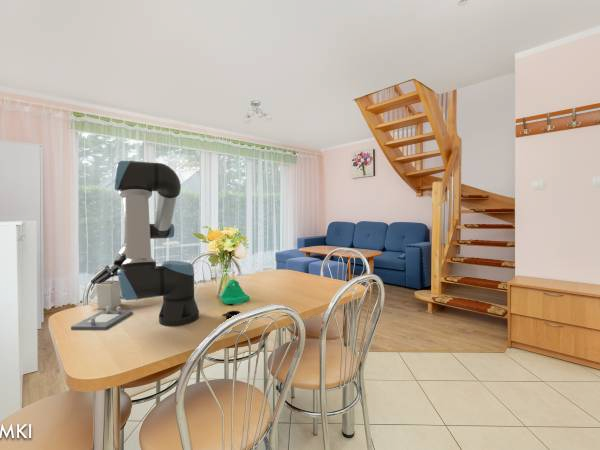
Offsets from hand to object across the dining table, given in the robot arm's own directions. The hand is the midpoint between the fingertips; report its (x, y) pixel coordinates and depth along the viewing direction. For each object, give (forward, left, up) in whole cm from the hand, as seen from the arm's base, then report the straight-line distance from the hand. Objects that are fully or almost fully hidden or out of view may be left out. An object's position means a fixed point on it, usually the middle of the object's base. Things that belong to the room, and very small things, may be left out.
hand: (105, 297), depth 134 cm
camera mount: (-55, -11, -5) cm, 57 cm away
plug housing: (0, -2, -5) cm, 5 cm away
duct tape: (-60, +12, -5) cm, 61 cm away
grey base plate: (-9, +15, -5) cm, 18 cm away
